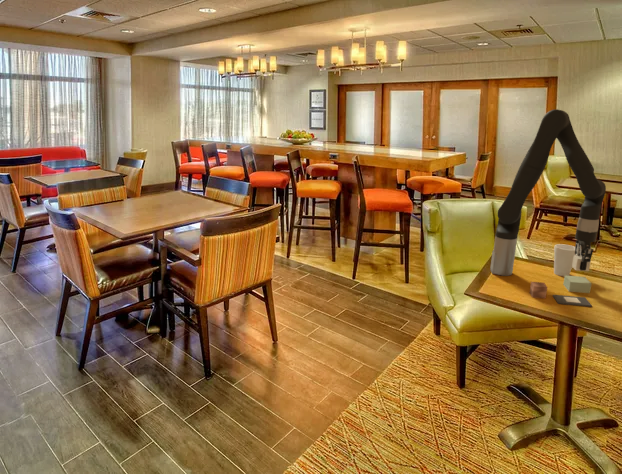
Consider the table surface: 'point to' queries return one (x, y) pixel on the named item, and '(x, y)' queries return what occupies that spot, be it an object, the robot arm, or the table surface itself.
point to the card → (572, 300)
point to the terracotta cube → (538, 290)
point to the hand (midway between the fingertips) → (580, 267)
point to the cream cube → (577, 263)
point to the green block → (577, 284)
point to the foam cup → (563, 259)
